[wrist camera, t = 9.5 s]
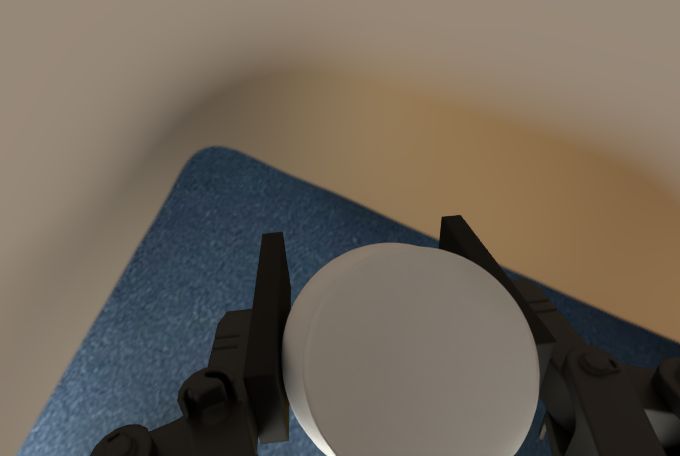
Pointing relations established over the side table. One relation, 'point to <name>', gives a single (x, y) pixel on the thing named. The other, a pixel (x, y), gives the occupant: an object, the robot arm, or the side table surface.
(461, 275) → the pill bottle
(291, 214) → the side table surface
